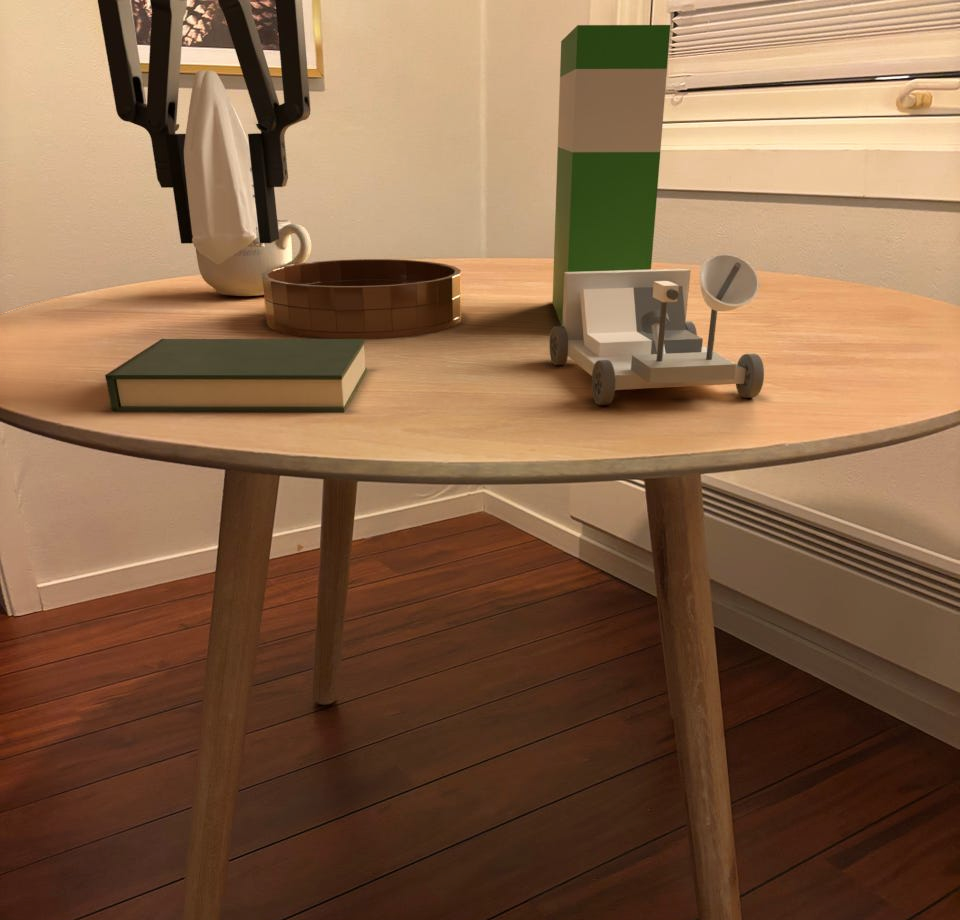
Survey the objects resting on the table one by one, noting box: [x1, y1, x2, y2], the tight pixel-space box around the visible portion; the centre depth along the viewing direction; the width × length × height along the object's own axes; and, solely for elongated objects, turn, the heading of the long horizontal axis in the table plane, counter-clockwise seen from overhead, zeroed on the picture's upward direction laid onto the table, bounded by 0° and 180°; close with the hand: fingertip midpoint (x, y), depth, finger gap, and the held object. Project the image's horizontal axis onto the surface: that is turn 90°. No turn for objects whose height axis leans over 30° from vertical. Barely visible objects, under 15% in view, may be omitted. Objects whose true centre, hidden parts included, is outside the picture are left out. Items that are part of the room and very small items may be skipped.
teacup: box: [195, 219, 312, 297], centre depth 106 cm, size 14×11×8 cm
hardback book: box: [552, 24, 672, 326], centre depth 89 cm, size 18×7×24 cm, turn 0°
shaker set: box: [184, 69, 265, 264], centre depth 63 cm, size 12×4×11 cm, turn 8°
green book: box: [104, 338, 368, 413], centre depth 69 cm, size 16×12×2 cm
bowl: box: [262, 258, 463, 340], centre depth 93 cm, size 19×19×4 cm
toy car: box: [548, 252, 765, 406], centre depth 68 cm, size 18×10×12 cm
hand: (230, 240), depth 65 cm, fingers closed on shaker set, 5 cm apart
